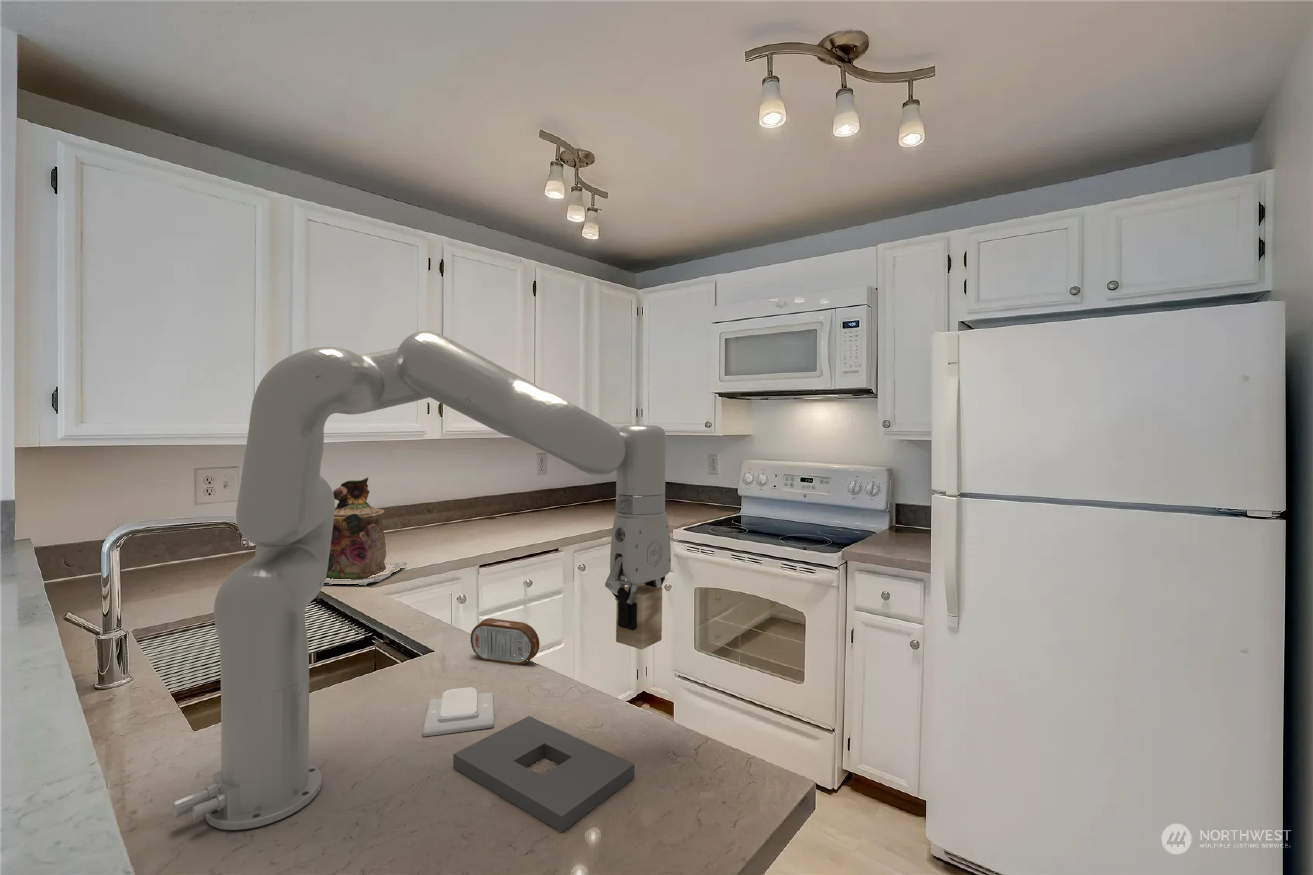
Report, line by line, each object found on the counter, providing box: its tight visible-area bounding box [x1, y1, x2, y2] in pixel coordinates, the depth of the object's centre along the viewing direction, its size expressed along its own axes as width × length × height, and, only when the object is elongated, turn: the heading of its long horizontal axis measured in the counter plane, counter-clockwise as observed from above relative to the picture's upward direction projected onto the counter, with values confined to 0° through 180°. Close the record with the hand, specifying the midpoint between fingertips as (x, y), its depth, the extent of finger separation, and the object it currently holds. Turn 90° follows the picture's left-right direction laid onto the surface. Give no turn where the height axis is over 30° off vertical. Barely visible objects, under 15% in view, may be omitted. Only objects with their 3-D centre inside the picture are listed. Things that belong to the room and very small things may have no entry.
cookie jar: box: [324, 477, 408, 586], centre depth 188 cm, size 25×25×32 cm
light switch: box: [422, 686, 495, 737], centre depth 99 cm, size 11×4×13 cm
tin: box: [470, 617, 541, 666], centre depth 122 cm, size 15×3×8 cm, turn 74°
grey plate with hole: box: [452, 715, 636, 834], centre depth 83 cm, size 14×22×2 cm, turn 53°
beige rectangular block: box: [615, 584, 663, 650], centre depth 90 cm, size 5×5×8 cm
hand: (639, 621), depth 90 cm, fingers closed on beige rectangular block, 5 cm apart
